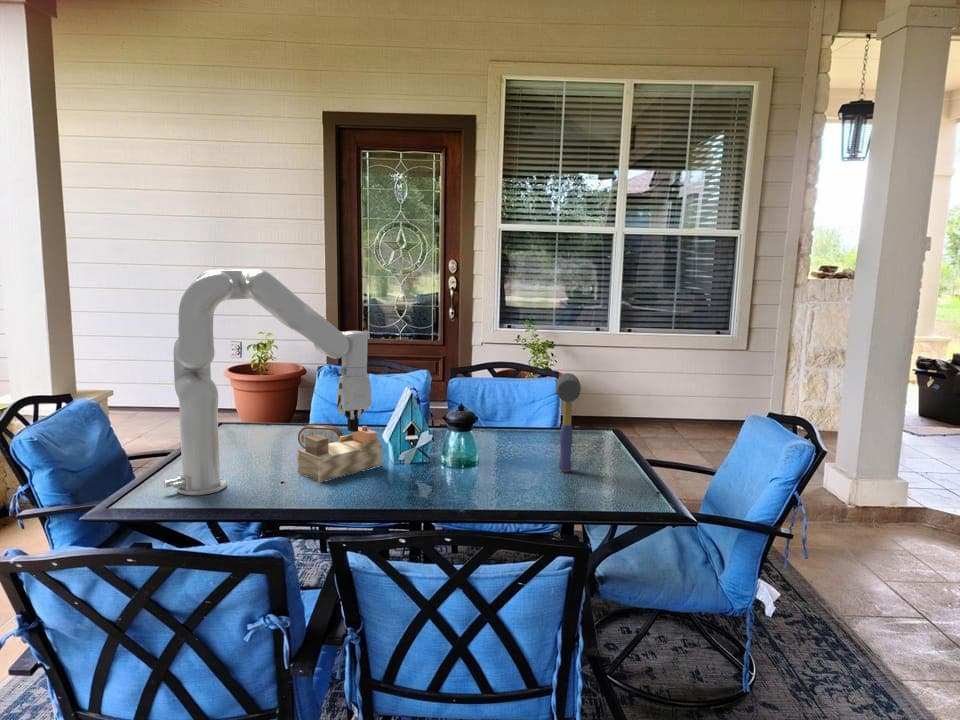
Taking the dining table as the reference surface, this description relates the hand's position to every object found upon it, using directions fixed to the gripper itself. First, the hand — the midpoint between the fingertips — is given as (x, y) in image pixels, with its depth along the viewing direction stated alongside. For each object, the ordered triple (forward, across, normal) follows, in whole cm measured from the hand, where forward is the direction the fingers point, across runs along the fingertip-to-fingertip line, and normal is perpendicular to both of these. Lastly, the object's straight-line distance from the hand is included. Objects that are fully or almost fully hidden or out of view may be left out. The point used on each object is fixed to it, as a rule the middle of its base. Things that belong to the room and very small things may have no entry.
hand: (352, 430), depth 201 cm
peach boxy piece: (+4, +4, 0) cm, 6 cm away
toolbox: (+11, -4, 0) cm, 12 cm away
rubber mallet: (+10, +46, -47) cm, 66 cm away
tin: (+12, +2, +22) cm, 25 cm away
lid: (+6, -9, 0) cm, 10 cm away
